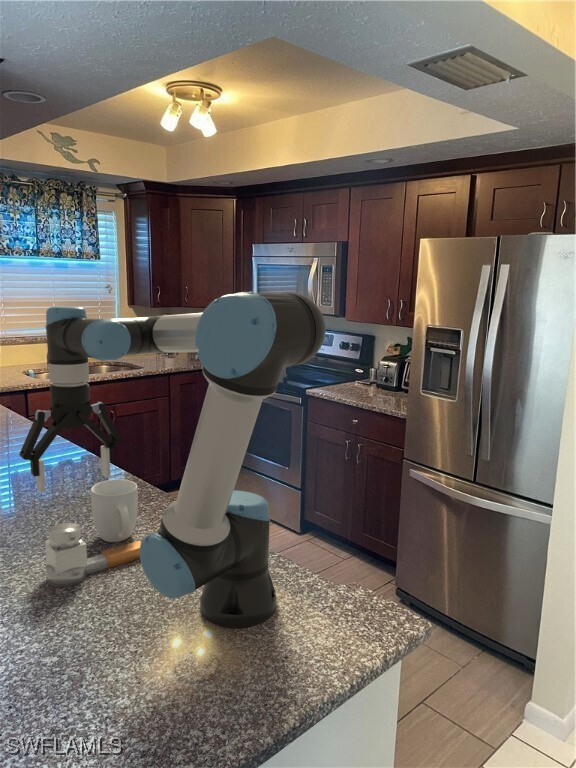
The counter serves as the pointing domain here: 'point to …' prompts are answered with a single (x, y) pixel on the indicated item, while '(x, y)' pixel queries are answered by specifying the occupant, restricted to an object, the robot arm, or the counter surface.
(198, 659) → the counter surface
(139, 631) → the counter surface
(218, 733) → the counter surface
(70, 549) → the metal knob on block
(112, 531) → the mug
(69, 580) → the ratchet
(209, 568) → the robot arm
